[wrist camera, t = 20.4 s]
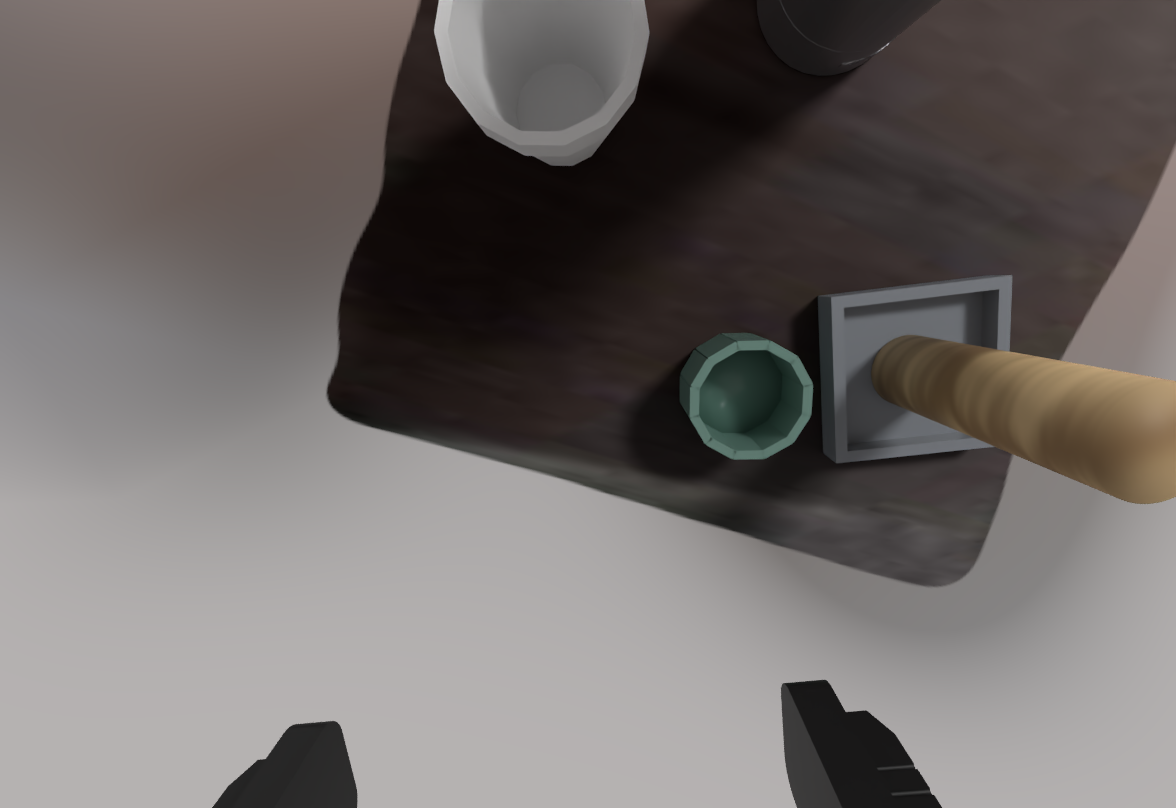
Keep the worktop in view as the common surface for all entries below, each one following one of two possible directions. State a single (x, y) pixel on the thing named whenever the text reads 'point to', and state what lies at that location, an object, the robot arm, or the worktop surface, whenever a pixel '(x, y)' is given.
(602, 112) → the foam cup
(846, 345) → the tray
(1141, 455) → the wooden dowel
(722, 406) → the holder pot
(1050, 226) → the worktop surface
